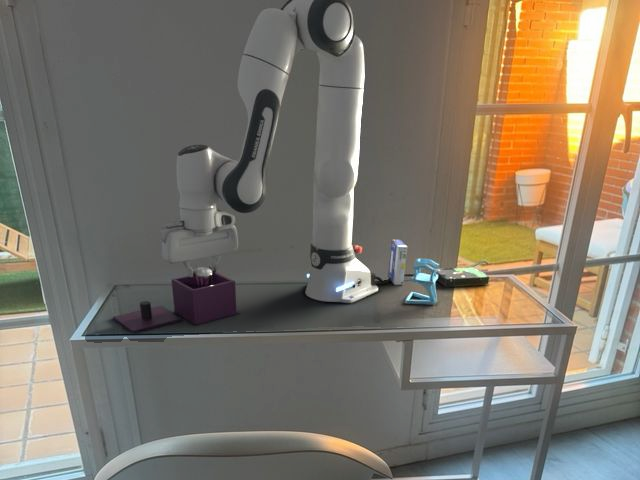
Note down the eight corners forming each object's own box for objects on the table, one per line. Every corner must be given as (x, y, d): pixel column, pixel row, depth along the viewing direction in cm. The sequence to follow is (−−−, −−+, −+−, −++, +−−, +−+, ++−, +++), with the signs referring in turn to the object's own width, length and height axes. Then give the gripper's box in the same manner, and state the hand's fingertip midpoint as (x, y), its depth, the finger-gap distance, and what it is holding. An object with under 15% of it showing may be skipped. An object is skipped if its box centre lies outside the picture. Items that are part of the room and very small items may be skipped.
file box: (215, 302, 164) (213, 270, 159) (236, 313, 157) (235, 281, 152) (174, 312, 157) (171, 279, 152) (195, 324, 150) (192, 290, 145)
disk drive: (445, 288, 181) (488, 284, 184) (446, 279, 179) (490, 276, 183) (431, 277, 189) (473, 274, 193) (432, 268, 188) (474, 265, 191)
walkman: (387, 276, 188) (391, 238, 181) (396, 276, 188) (400, 238, 182) (394, 285, 181) (398, 245, 175) (403, 284, 182) (407, 245, 175)
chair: (433, 307, 166) (439, 265, 159) (404, 303, 168) (409, 261, 162) (438, 299, 172) (444, 258, 165) (410, 294, 174) (415, 254, 168)
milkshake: (214, 306, 153) (211, 268, 147) (194, 304, 153) (190, 266, 148) (219, 300, 157) (217, 263, 151) (200, 298, 157) (197, 261, 152)
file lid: (160, 307, 159) (158, 291, 156) (180, 320, 152) (179, 303, 149) (113, 318, 151) (110, 301, 149) (132, 333, 144) (130, 315, 142)
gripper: (166, 227, 136) (172, 285, 143) (240, 215, 147) (242, 270, 155) (153, 221, 140) (160, 278, 147) (226, 211, 151) (229, 264, 159)
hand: (203, 274), depth 151 cm, fingers open, 5 cm apart
